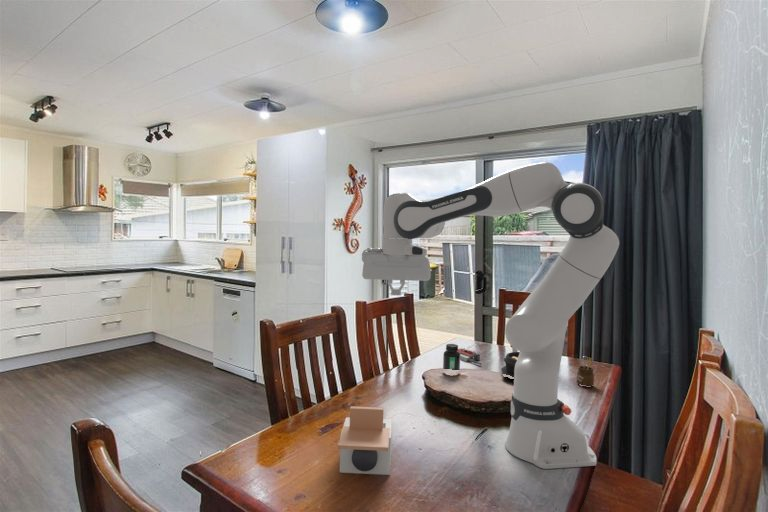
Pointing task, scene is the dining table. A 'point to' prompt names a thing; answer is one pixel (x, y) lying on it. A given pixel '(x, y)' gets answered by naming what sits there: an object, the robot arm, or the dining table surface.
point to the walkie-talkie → (469, 355)
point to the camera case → (366, 457)
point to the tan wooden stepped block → (365, 430)
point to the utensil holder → (585, 374)
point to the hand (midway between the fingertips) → (396, 295)
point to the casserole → (510, 363)
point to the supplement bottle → (451, 357)
